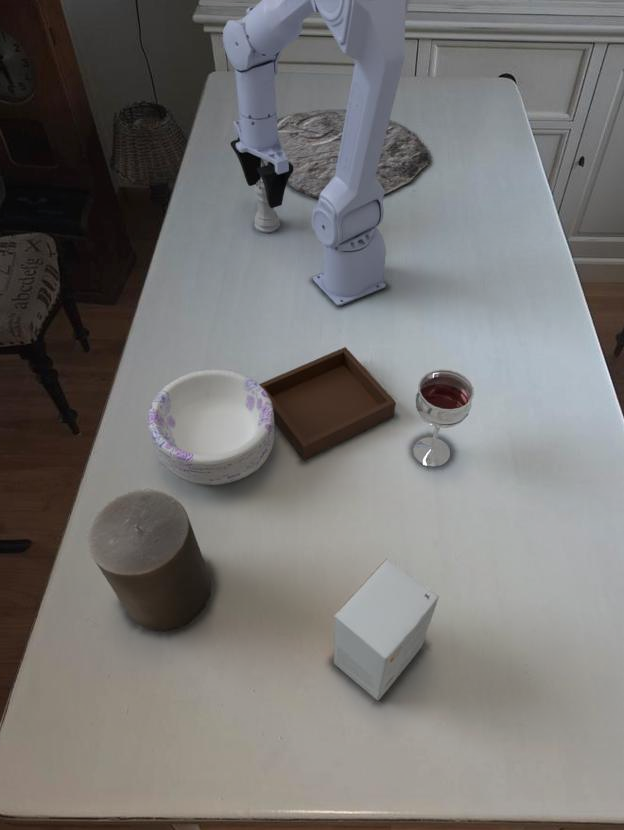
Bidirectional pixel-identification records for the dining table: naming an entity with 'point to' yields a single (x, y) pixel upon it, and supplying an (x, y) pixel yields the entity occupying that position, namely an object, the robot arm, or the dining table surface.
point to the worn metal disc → (320, 143)
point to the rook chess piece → (265, 211)
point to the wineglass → (441, 411)
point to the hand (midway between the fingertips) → (264, 194)
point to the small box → (382, 627)
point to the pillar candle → (151, 559)
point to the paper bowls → (212, 426)
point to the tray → (327, 402)
